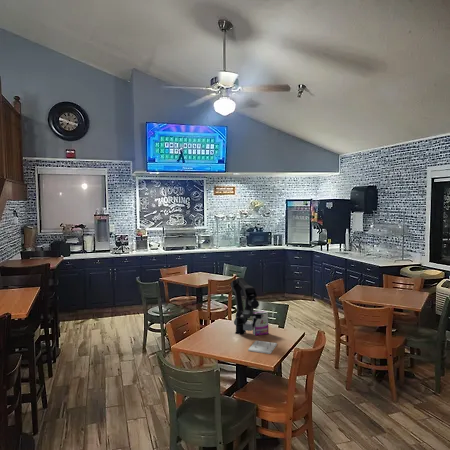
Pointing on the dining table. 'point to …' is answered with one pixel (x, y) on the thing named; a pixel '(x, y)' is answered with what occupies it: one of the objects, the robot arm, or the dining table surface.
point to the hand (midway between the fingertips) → (249, 326)
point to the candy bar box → (261, 324)
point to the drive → (248, 326)
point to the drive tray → (262, 347)
